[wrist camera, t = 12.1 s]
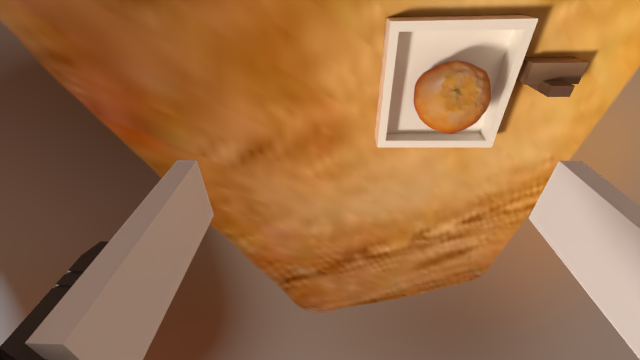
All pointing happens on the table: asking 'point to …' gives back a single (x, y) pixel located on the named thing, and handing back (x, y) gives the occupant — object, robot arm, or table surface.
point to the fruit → (452, 96)
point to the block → (552, 74)
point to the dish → (441, 47)
